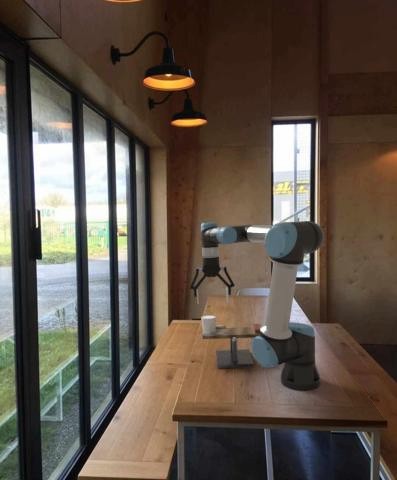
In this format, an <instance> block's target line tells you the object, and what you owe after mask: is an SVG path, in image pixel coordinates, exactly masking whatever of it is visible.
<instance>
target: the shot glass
mask: <svg viewBox="0 0 397 480" xmlns="http://www.w3.org/2000/svg"><path fill="white" fill-rule="evenodd" d="M200 318H201V326H202V327H203V330H202V333H210V332H215V329H216V326H217V316H216V315H211V314H208V315H202V316H201V317H200ZM202 327H201V328H202Z"/></svg>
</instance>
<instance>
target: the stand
mask: <svg viewBox="0 0 397 480" xmlns="http://www.w3.org/2000/svg"><path fill="white" fill-rule="evenodd" d="M229 328H234V326H230V327H229ZM229 340H230V342H229V343H230V349H223V350H215V356H216V358H215V359H216V367H217V369H233V368H234V369H236V368H237V369H238V368H255V363H254V360H253V357H252V355H251V354H252V353H251V352H250V349H238V338H237V337H232V341H231V338H229Z"/></svg>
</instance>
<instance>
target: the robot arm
mask: <svg viewBox="0 0 397 480" xmlns="http://www.w3.org/2000/svg"><path fill="white" fill-rule="evenodd" d="M324 233H325V232H324V231H323V228H322V227H321V226H320V225H319V224H318V223H315V222H314V221H310V220H301V221H283V222H278V223H274V224H273V225H270V224H269V225H267V224H264V225H262V224H261V225H259V224H244V225H228V226H218V223H217V222H216V221H215V222H202V223H201V225H200V237H201V239H200V240H201V256H202V268H199V267H195V274H194V276H193V278H192V280H191V283H190V285H189V289H191V290H193V296H194V297H195V298H196V304H197V305H199V304H200V303H199V302H200V300H199V286H201V285H202V283H203V281H204V280H206V278H216V277H217V278H218V279H220V281H222V283H223V284H224V285H225V286H226V287H225V288H226V289H225V291H226V293H225V294H226V303H227V304H228V303H229V304H230V297H229V296H231V295H232V288H233V287H235V286H236V285H235V283H234V281H233V280H232V278H231V276H230V274H229V272H228V269H227V268H228V267H227V266H225V265H223V266H220V257H219V255H220V251H219V245H223V246H225V245H232V244H236V243H256V244H257V243H258V244H259V243H260V244H264V248H265V250H266V253H267V254H268V255H269V260H270V261H271V262H272V271H271V278H270V284H269V293H268V300H267V306H266V307H267V308H266V314H265V320H264V322H265V323H263V324H261V325H262V326H261V327H260V334H259V336H256V337H255V338H253V339H252V341H251V352H252V354H253V356H254V358H255V360H256V362H257V363H258V364H260V366H262V367H264V368H267V369H268V368H273V367H278V366H280V365H282V364H283V367H282V369H281V370H282V371H281V372H280V373H281V374H280V383H281V384H282V385H283V386H284V387H286V388H288V389H292V390H297V391H310V390H314V389H317V388H319V387H320V386H321V382H322V381H321V376H320V372H319V369H318V366H317V365H316V334H315V333H316V332H315V328H314V327H313V326H311V325H310V324H306V323H301V322H293V321H291V315H292V309H293V303H294V295H295V289H296V281H297V278H298V277H297V275H298V269H299V267H300V266H302V265H303V264H304V260H305V255H307V254H312V253H315V252H316V251H318V250H319V249H320V248H321V247H322V246H323V243H324V240H325V234H324ZM220 271H222V272H224V274H225V276H226V277H227V280H228V281H227V280H225V278H224V277H223V276H222V275H221V274H220ZM201 272H202V273H203V274H202V276H201V277H200V279H199V280H198V281H197V283H196V280H197V278H198V276H199V274H200V273H201ZM195 283H196V284H195ZM290 321H291V322H290Z"/></svg>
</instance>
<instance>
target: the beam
mask: <svg viewBox="0 0 397 480" xmlns="http://www.w3.org/2000/svg"><path fill="white" fill-rule="evenodd" d="M251 325H252V326H249V327H248V326H246V327H233V328H230V327H227V326H226V325H225V324H224V325H216V329H215V332H210V333H203V332H202V333H201V334H202V340H217V339H219V340H220V339H221V340H222V339H224V340H225V339H230V338H231V341H232V337H237V339H248V338H250V339H252V338H253V339H254V338H255V337H256V336H259V334H260V327H261V326H262V325H263V324H262V323H252V324H251ZM201 328H202V331H203V327H201Z"/></svg>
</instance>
